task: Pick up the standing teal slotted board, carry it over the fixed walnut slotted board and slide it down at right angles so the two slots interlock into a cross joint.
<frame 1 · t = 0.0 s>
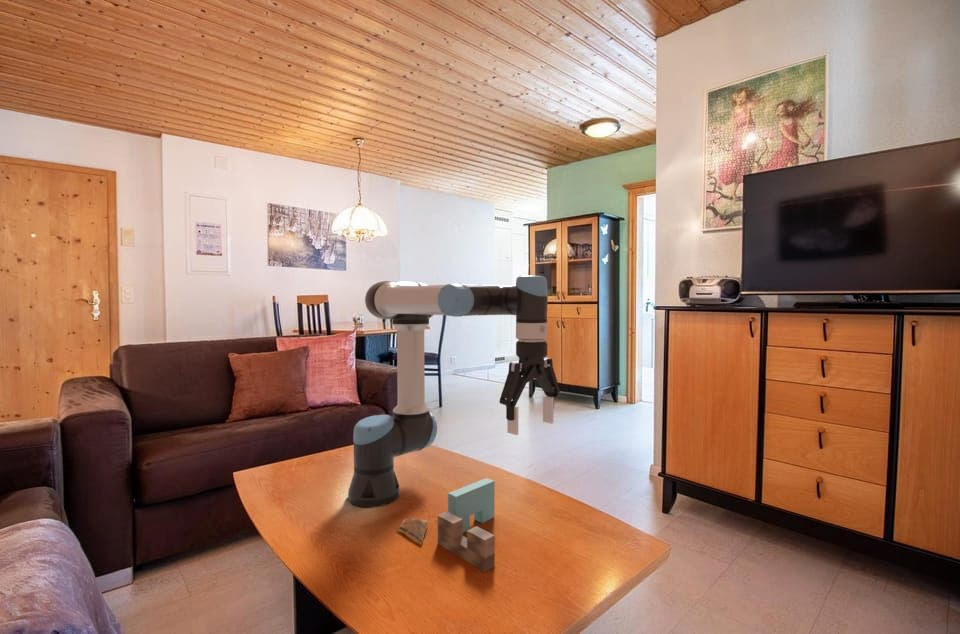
hand: (531, 427, 109), 28 cm above the table, fingers open, 13 cm apart
walnut board: (464, 554, 104), on the table
shard: (419, 533, 115), on the table
teal board: (472, 524, 118), on the table
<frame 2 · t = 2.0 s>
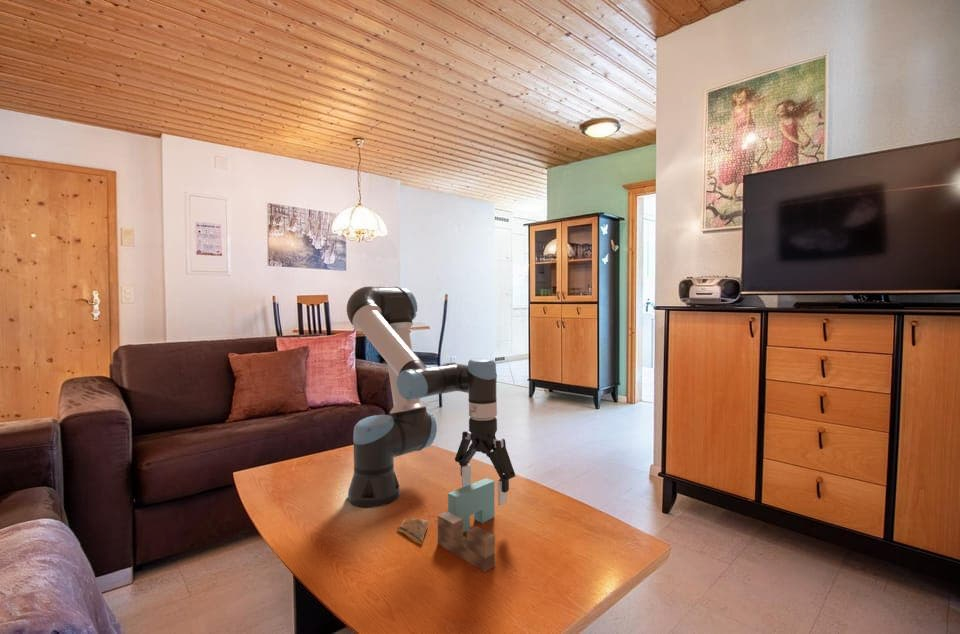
hand: (483, 496, 121), 6 cm above the table, fingers open, 13 cm apart
nothing on the table moved.
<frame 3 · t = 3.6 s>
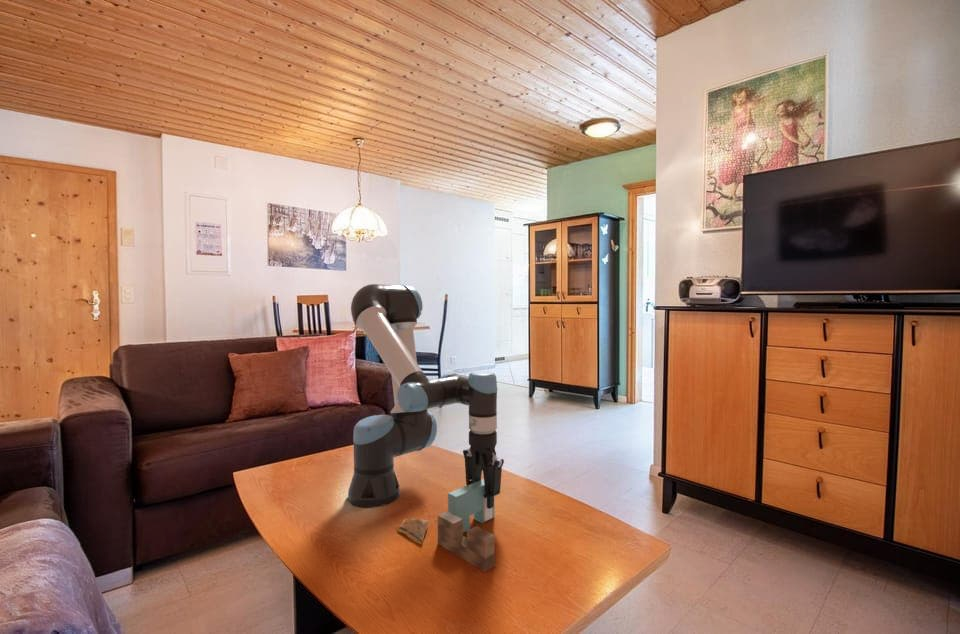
hand: (482, 516, 121), 1 cm above the table, fingers closed on teal board, 3 cm apart
teal board: (472, 524, 118), on the table, touching gripper
everything else where it was.
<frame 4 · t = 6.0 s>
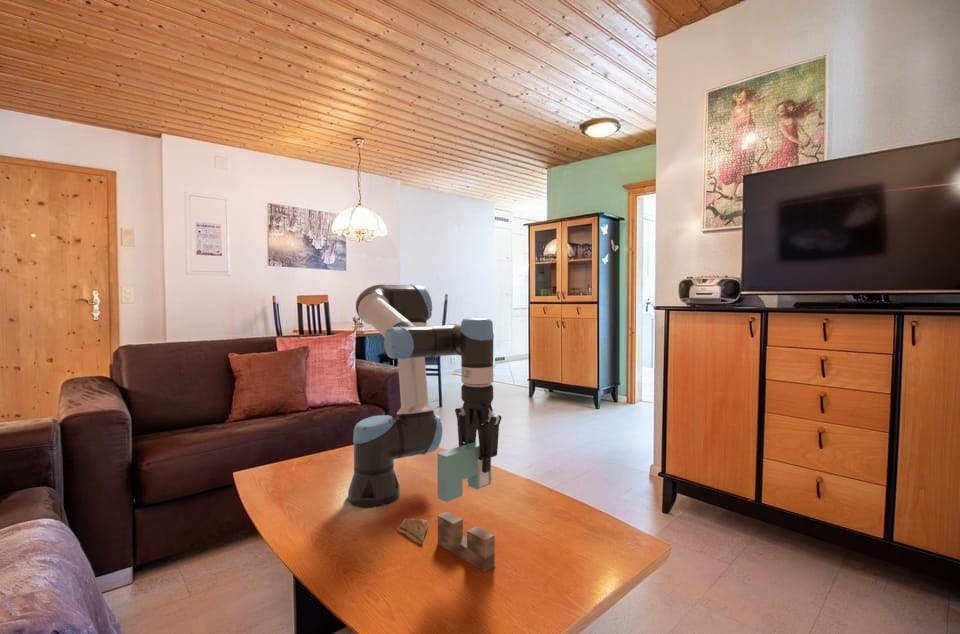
hand: (477, 482, 106), 16 cm above the table, fingers closed on teal board, 3 cm apart
teal board: (465, 490, 104), point 15 cm above the table, touching gripper
everything else where it was.
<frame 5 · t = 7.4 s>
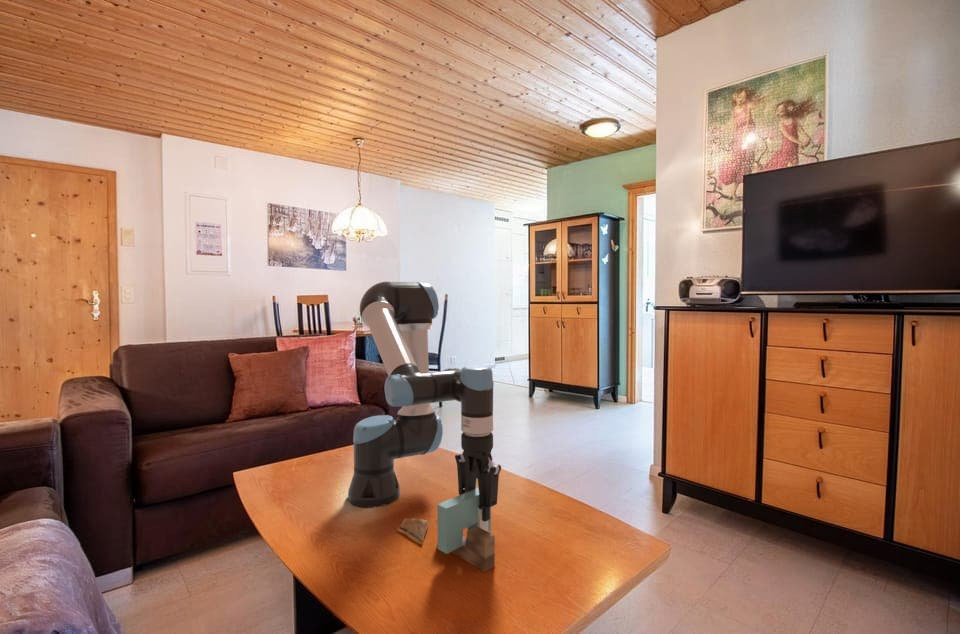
hand: (477, 530, 107), 4 cm above the table, fingers closed on teal board, 3 cm apart
teal board: (465, 539, 104), point 4 cm above the table, touching gripper
everything else where it was.
when the fingers open (2 cm above the table, at t = 8.4 s): teal board drops 1 cm, on the table.
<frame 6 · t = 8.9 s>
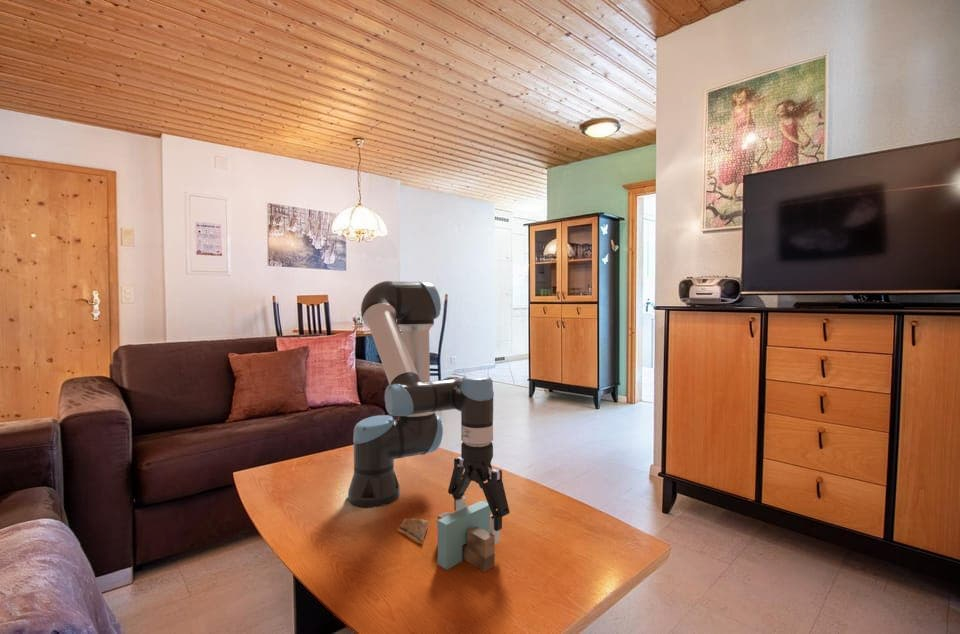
hand: (477, 533, 107), 3 cm above the table, fingers open, 11 cm apart
teal board: (465, 554, 104), on the table
everything else where it was.
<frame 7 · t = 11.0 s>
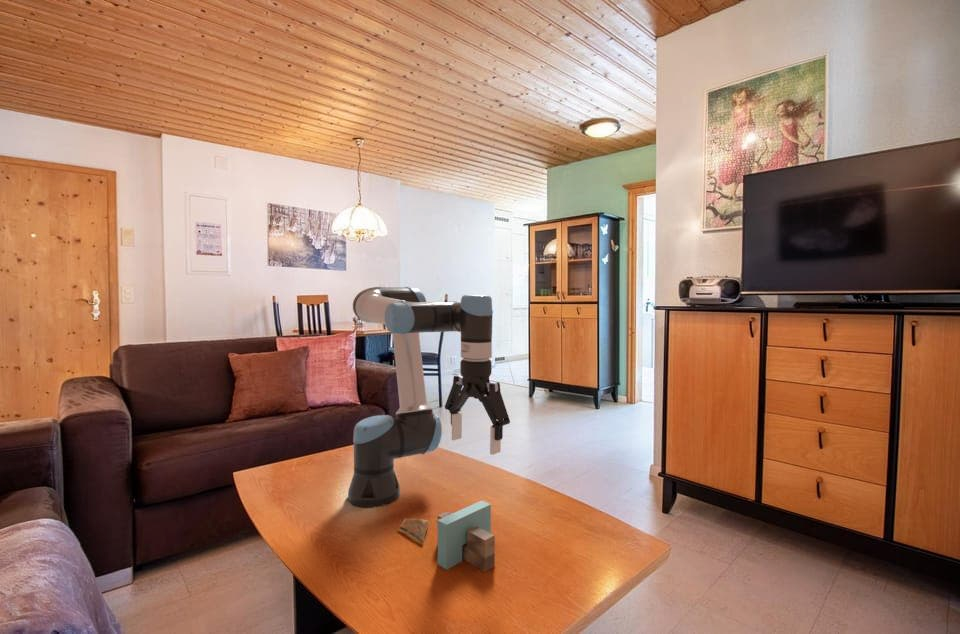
hand: (475, 445, 109), 23 cm above the table, fingers open, 13 cm apart
nothing on the table moved.
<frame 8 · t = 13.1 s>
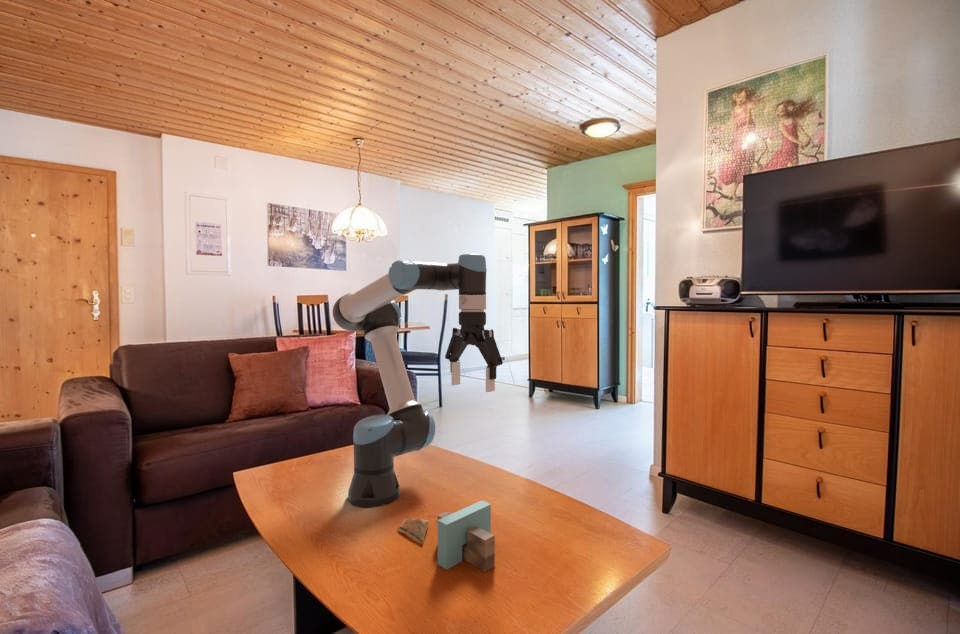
hand: (472, 388, 124), 35 cm above the table, fingers open, 13 cm apart
nothing on the table moved.
at the end: teal board 0.1 cm off-centre on the walnut board, point 0.0 cm above the walnut board's base; teal board tilted 0°; the gripper is holding nothing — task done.
